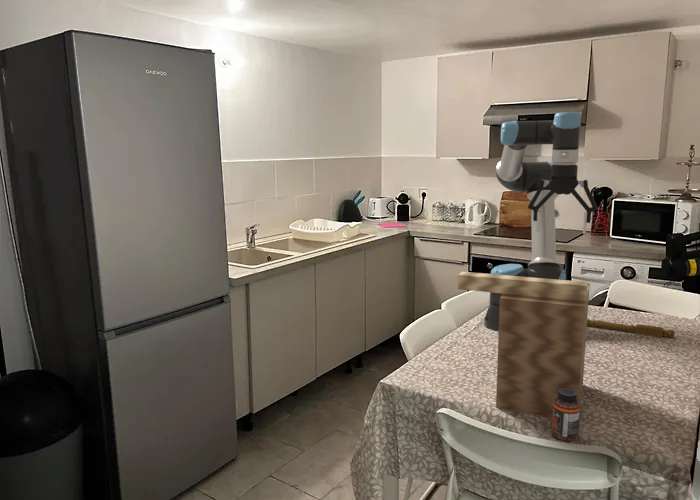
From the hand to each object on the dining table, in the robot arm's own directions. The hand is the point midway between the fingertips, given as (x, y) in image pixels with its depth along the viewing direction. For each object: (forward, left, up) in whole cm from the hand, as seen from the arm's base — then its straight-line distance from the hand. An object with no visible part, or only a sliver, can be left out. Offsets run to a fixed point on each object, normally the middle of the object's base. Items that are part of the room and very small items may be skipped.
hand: (560, 232), depth 174 cm
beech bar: (+7, -38, -11) cm, 40 cm away
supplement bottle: (+25, -47, -41) cm, 67 cm away
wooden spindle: (+9, +39, -41) cm, 58 cm away
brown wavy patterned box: (+11, -31, -41) cm, 52 cm away
